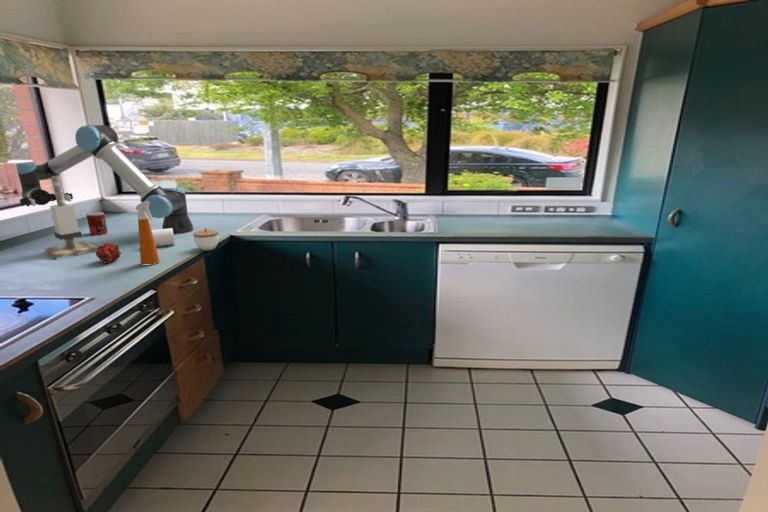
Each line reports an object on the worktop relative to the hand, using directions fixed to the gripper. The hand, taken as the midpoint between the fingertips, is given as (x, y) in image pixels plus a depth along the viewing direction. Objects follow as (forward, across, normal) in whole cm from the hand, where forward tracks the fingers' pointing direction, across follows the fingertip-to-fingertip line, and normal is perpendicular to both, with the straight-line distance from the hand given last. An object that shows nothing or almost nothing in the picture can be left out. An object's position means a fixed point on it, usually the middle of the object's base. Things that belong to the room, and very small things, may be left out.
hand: (52, 200), depth 202 cm
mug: (+29, -32, -23) cm, 50 cm away
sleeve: (+10, 0, -13) cm, 17 cm away
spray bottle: (+56, -16, -24) cm, 63 cm away
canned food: (-18, -21, -23) cm, 36 cm away
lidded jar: (+53, -42, -24) cm, 72 cm away
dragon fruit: (+39, -6, -23) cm, 46 cm away
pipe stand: (+10, 0, -22) cm, 25 cm away
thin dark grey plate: (+10, 0, -15) cm, 18 cm away
